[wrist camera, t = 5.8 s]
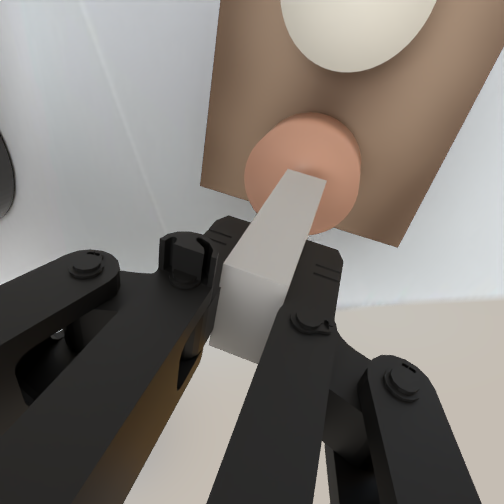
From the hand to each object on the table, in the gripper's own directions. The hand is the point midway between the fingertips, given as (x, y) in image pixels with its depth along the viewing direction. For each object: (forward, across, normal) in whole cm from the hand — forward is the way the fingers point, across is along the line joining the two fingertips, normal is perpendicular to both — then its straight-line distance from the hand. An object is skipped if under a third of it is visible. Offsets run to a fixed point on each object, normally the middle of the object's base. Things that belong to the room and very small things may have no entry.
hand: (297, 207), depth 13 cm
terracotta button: (+5, 0, 0) cm, 5 cm away
